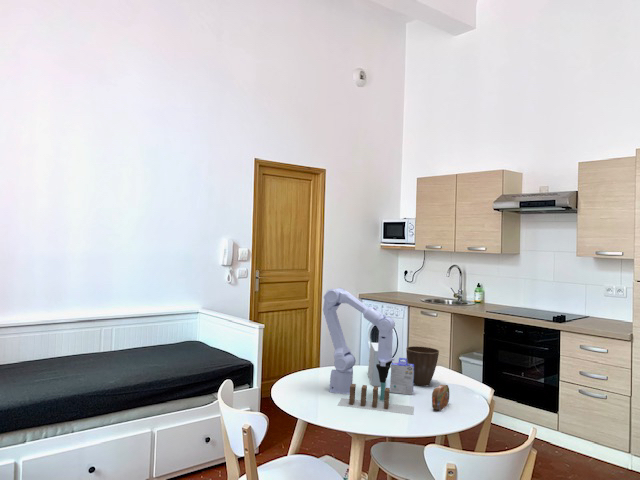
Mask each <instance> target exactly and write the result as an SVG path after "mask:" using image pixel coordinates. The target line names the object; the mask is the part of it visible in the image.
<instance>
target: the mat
mask: <svg viewBox="0 0 640 480" xmlns="http://www.w3.org/2000/svg"><path fill="white" fill-rule="evenodd" d="M336 406H337V407H338V406H339V407H345V408H352V409H354V408H355V409H362V410H371V411H377V412H386V413H395V414H401V415H402V414H404V415H409V416H414V412H415V406H414V405H413V406H411V405H404V404H395V403H389V407H388V409H384V402H379V401H378V403H377V407H376V408H373V407H372V400H371V401H369V400H366V404H365V406H361V399H355V402H354V404H353V405H349V398H347V397H346V398H345V397H341V398H340V400H339V402H338V403H337V405H336Z"/></svg>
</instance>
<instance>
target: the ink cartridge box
mask: <svg viewBox="0 0 640 480" xmlns="http://www.w3.org/2000/svg"><path fill="white" fill-rule="evenodd" d="M402 360H403V361H402ZM389 382H390V383H389V384H390V385H389V388H390V393H392V394H403V395H409V396H410V395H413V393H414V385H415V384H414V364H408V360H407V357H406V358H405V357H399V358H398V362H393V361H392V363H391V365H390V381H389Z"/></svg>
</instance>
